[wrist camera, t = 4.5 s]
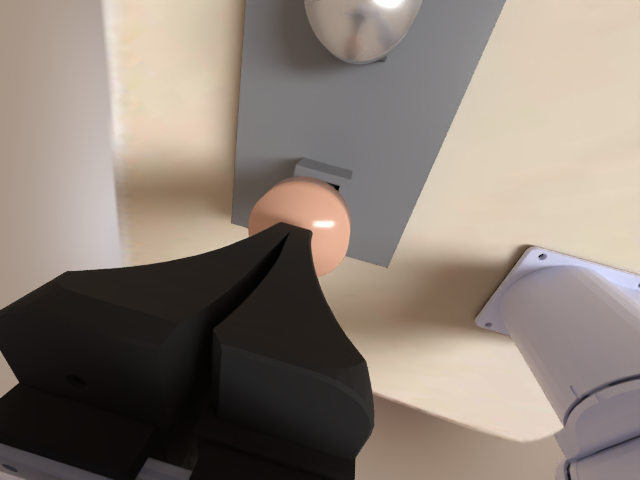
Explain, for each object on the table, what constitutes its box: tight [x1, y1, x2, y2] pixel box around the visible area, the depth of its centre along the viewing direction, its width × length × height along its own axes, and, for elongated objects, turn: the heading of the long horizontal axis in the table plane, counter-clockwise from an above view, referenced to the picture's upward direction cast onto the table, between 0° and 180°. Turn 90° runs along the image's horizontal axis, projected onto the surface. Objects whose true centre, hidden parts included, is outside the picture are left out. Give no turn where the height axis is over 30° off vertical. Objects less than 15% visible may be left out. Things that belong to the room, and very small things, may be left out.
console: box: [231, 0, 506, 268], centre depth 15 cm, size 12×18×4 cm, turn 167°
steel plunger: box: [304, 0, 422, 64], centre depth 12 cm, size 4×4×6 cm
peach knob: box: [248, 176, 351, 277], centre depth 14 cm, size 4×4×6 cm
